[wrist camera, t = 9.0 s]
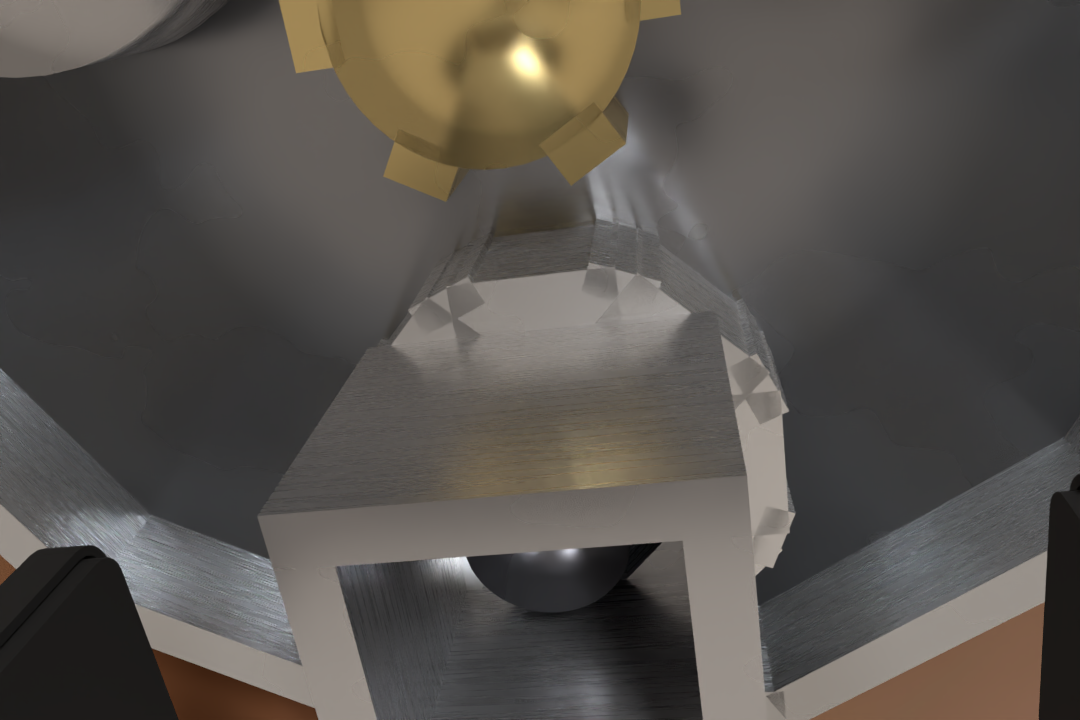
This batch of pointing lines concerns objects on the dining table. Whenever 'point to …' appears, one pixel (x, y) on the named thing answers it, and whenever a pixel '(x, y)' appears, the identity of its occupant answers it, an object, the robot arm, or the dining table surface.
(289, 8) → the tray
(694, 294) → the grey hollow boxy piece
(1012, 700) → the dining table surface
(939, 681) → the dining table surface
